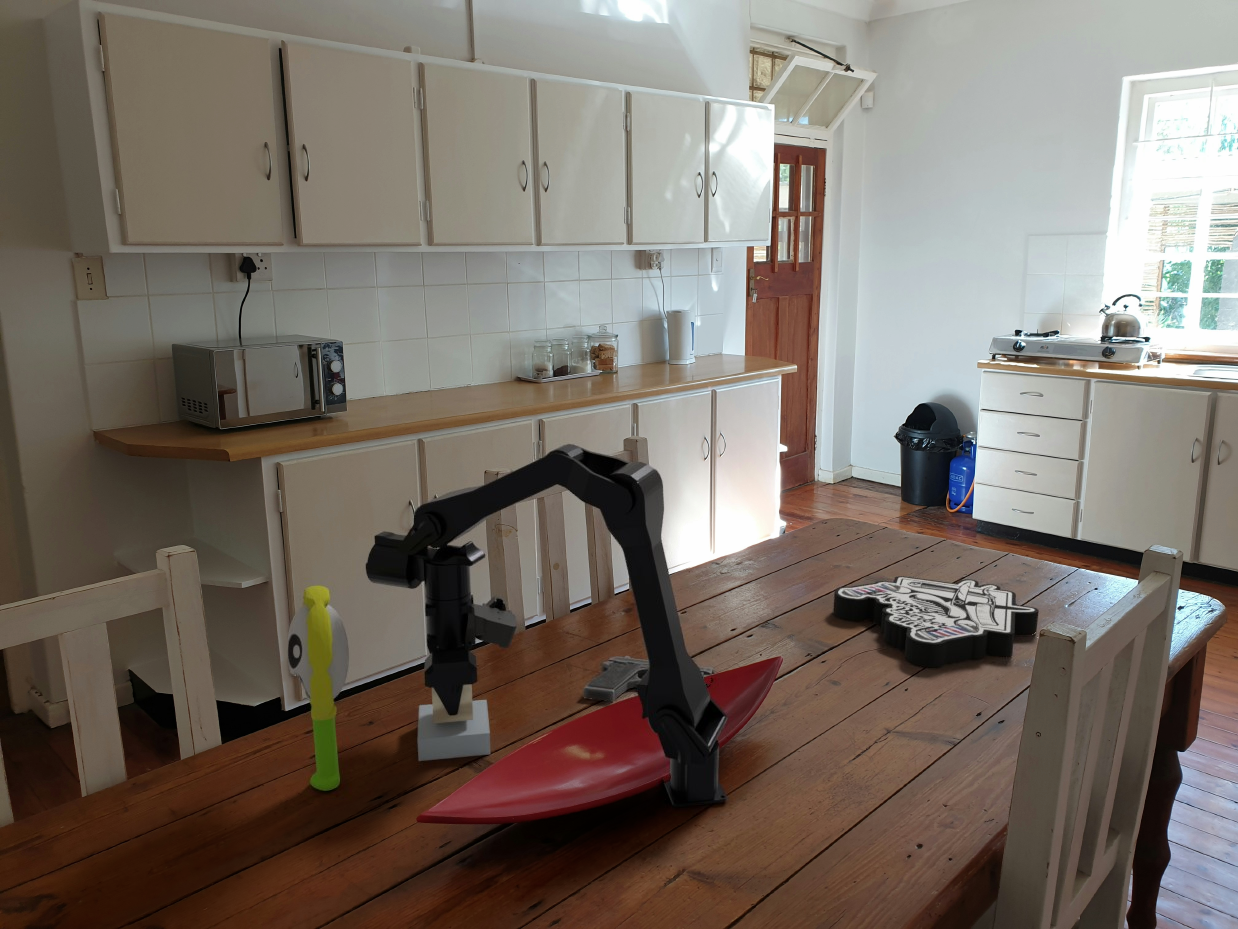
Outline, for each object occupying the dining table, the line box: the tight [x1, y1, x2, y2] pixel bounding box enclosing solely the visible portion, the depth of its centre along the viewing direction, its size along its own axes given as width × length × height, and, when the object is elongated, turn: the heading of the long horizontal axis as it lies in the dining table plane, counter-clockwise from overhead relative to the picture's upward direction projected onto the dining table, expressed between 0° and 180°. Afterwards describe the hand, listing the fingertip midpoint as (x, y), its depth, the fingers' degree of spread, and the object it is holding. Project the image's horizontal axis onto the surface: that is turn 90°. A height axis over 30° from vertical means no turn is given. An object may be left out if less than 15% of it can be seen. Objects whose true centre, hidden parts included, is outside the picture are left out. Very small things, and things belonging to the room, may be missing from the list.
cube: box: [431, 684, 473, 723], centre depth 120 cm, size 5×5×5 cm
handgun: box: [582, 655, 716, 702], centre depth 136 cm, size 2×17×12 cm
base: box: [417, 699, 491, 762], centre depth 121 cm, size 9×9×3 cm
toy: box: [286, 585, 350, 792], centre depth 108 cm, size 15×7×25 cm, turn 21°
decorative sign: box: [832, 575, 1040, 670], centre depth 158 cm, size 28×4×30 cm
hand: (453, 705), depth 120 cm, fingers closed on cube, 5 cm apart
